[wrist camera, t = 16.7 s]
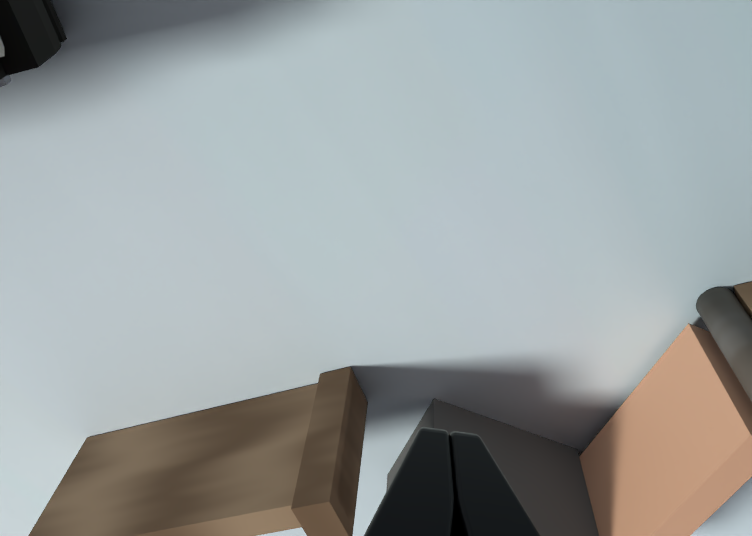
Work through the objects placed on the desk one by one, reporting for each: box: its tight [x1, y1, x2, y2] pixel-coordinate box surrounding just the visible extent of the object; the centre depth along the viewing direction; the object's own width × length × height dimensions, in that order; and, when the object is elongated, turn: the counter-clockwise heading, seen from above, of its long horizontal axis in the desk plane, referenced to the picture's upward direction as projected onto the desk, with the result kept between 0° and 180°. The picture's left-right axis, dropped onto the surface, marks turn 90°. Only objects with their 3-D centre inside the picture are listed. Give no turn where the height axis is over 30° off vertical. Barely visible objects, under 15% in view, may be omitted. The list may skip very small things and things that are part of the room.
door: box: [579, 323, 752, 536], centre depth 23 cm, size 11×1×5 cm, turn 158°
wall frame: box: [29, 282, 752, 536], centre depth 22 cm, size 28×2×6 cm, turn 109°
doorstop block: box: [386, 399, 599, 536], centre depth 24 cm, size 6×4×6 cm
